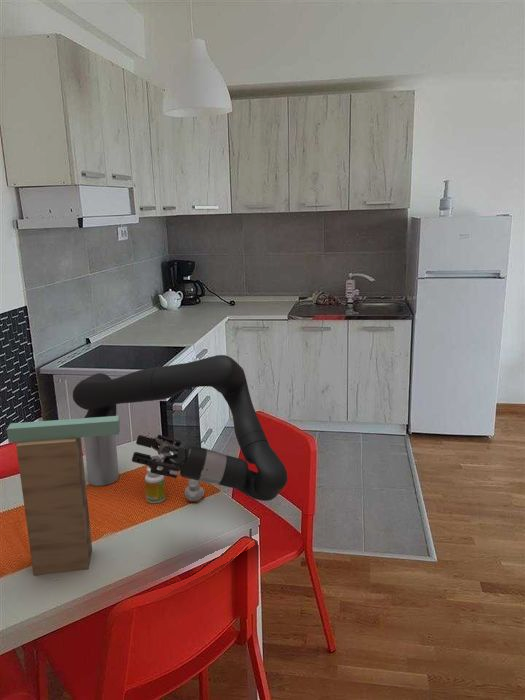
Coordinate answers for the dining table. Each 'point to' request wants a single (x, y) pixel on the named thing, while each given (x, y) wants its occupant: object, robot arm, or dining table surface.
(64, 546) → the stand
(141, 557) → the dining table surface
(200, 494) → the grey rounded piece
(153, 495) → the supplement bottle
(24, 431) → the rod
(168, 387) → the robot arm
